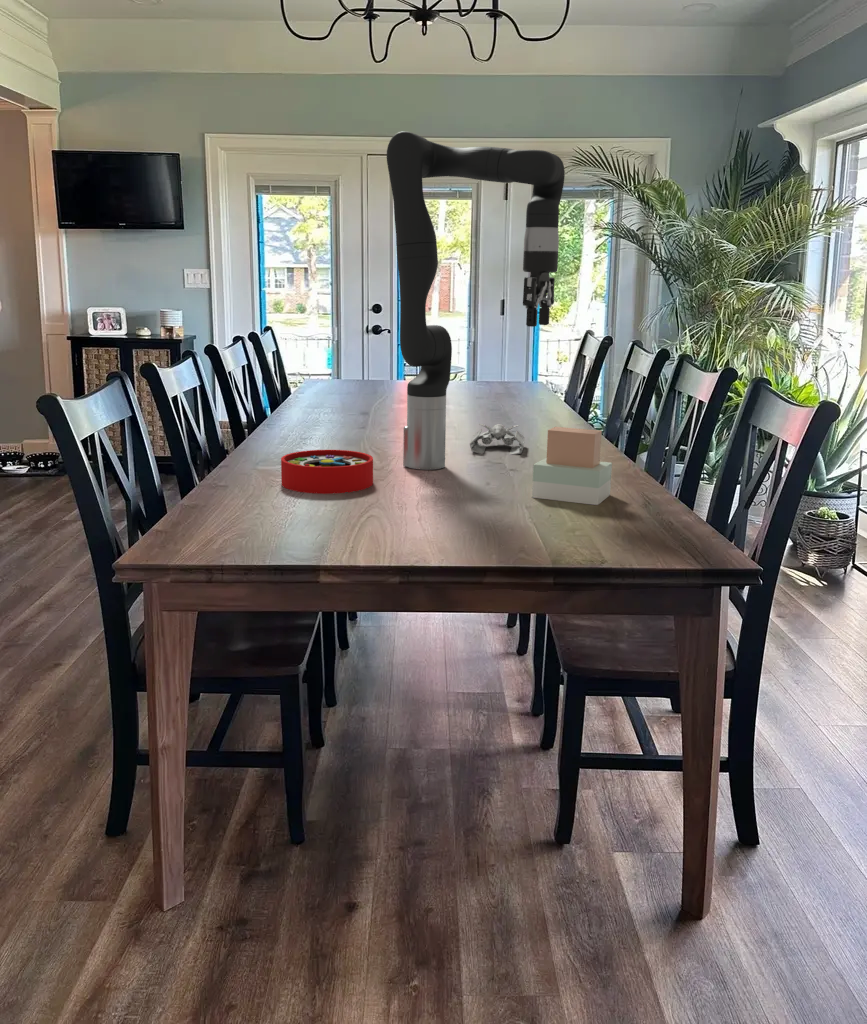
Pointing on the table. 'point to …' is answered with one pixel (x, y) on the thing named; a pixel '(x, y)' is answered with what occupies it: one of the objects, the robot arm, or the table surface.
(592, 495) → the green and white block
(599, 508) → the table surface
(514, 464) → the table surface
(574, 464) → the terracotta brick
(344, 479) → the toy clock
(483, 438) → the spaceship toy
